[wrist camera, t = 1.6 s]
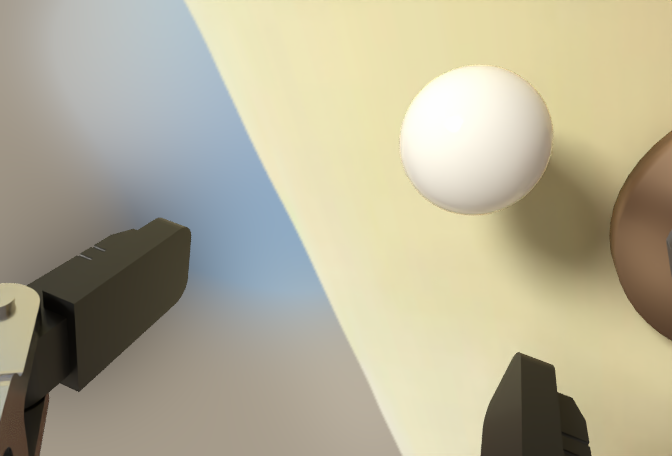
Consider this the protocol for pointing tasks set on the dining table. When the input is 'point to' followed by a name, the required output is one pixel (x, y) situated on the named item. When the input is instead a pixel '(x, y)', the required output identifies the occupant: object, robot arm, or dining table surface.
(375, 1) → the dining table surface
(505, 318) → the dining table surface
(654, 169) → the lamp base
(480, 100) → the lightbulb
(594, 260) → the dining table surface
